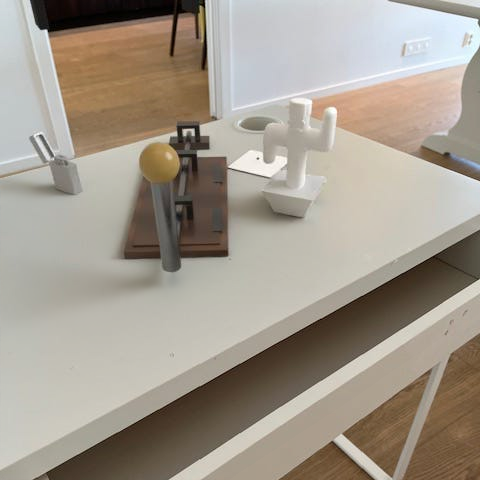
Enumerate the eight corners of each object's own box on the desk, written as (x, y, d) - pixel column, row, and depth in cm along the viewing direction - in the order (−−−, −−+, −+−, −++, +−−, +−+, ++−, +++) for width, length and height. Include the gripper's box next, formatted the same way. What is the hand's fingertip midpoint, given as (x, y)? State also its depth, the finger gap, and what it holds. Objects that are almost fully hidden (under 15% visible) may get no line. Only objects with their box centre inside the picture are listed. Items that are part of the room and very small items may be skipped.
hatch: (148, 163, 85) (145, 140, 82) (226, 162, 85) (226, 138, 83) (124, 258, 64) (119, 231, 61) (228, 256, 64) (227, 228, 62)
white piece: (270, 177, 80) (270, 172, 80) (226, 167, 83) (226, 162, 83) (292, 158, 86) (292, 154, 85) (250, 149, 89) (250, 145, 88)
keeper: (170, 142, 92) (168, 120, 89) (209, 142, 92) (208, 119, 89) (169, 150, 89) (167, 127, 87) (209, 149, 89) (208, 126, 87)
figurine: (271, 191, 77) (274, 86, 67) (332, 202, 74) (345, 94, 65) (253, 213, 72) (254, 103, 62) (318, 226, 69) (329, 113, 60)
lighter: (82, 190, 78) (71, 138, 73) (74, 195, 77) (61, 143, 72) (50, 180, 81) (36, 129, 76) (41, 184, 80) (27, 133, 75)
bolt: (177, 136, 90) (169, 41, 80) (200, 135, 90) (194, 40, 80) (153, 280, 58) (133, 152, 48) (188, 280, 58) (176, 151, 48)
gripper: (-176, -429, 25) (-26, 44, 39) (268, -362, 33) (262, 12, 47) (-159, -377, 31) (-32, 25, 45) (222, -330, 38) (229, -1, 52)
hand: (120, 19), depth 46 cm, fingers open, 13 cm apart
